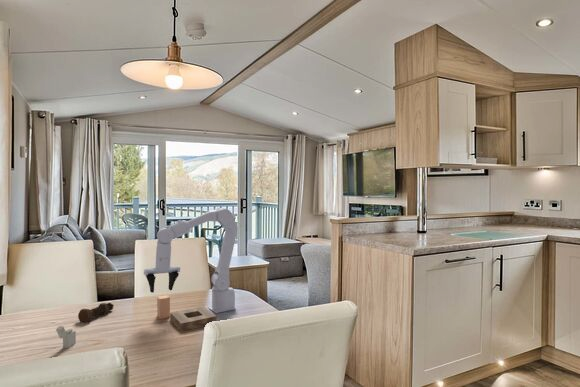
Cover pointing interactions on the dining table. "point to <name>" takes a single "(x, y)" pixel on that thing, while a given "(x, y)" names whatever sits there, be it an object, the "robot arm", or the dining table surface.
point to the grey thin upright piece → (67, 336)
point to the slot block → (192, 318)
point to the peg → (163, 306)
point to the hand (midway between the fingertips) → (161, 290)
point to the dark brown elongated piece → (94, 312)
